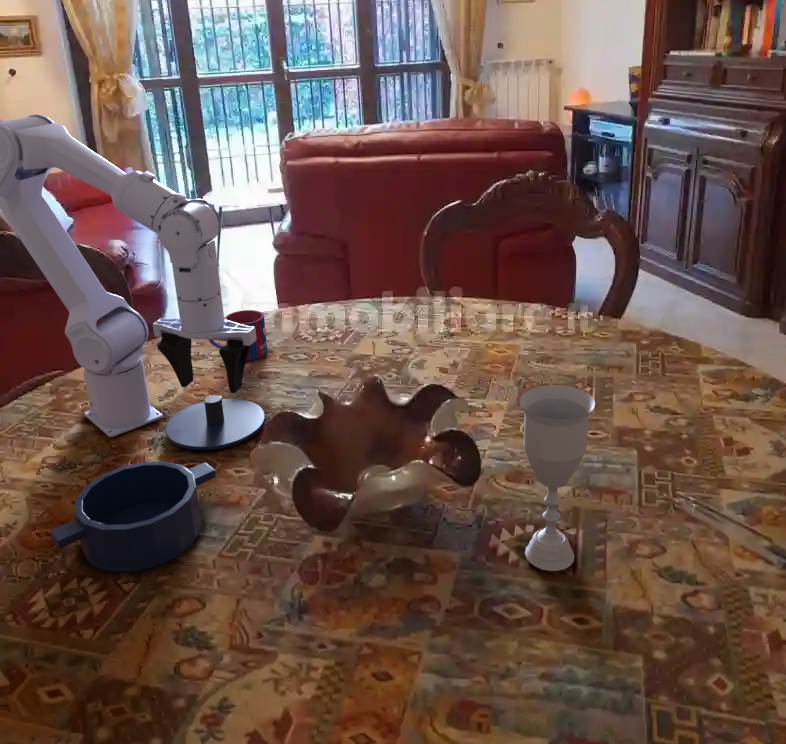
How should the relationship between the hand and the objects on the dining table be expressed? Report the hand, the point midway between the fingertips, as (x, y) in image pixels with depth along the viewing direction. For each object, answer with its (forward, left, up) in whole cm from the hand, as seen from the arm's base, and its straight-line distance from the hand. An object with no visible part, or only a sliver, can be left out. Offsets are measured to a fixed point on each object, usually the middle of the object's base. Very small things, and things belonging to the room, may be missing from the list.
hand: (211, 386), depth 103 cm
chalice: (+49, +11, -7) cm, 51 cm away
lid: (0, 0, -6) cm, 6 cm away
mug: (-20, +16, -7) cm, 27 cm away
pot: (+15, -18, -6) cm, 24 cm away
